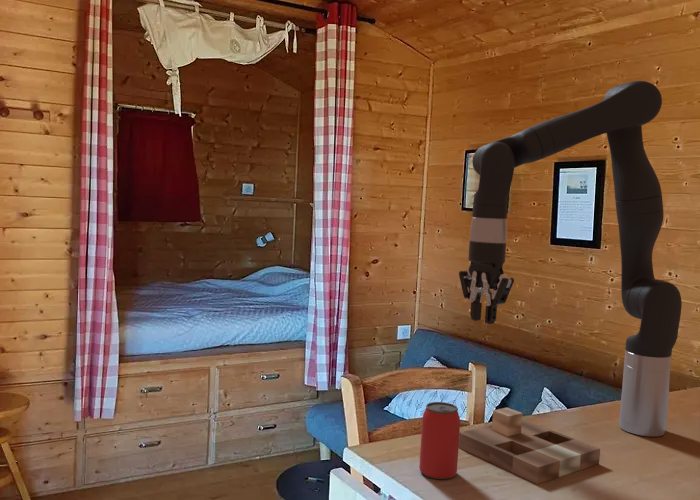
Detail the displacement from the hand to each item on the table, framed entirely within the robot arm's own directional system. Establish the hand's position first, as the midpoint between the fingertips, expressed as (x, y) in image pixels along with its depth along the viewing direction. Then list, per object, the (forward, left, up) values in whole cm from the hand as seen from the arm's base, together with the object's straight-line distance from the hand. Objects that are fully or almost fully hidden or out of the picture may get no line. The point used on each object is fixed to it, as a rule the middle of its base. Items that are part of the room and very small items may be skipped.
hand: (482, 321), depth 140 cm
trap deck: (+2, +16, -23) cm, 28 cm away
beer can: (+23, +13, -23) cm, 35 cm away
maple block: (+2, +10, -20) cm, 23 cm away
